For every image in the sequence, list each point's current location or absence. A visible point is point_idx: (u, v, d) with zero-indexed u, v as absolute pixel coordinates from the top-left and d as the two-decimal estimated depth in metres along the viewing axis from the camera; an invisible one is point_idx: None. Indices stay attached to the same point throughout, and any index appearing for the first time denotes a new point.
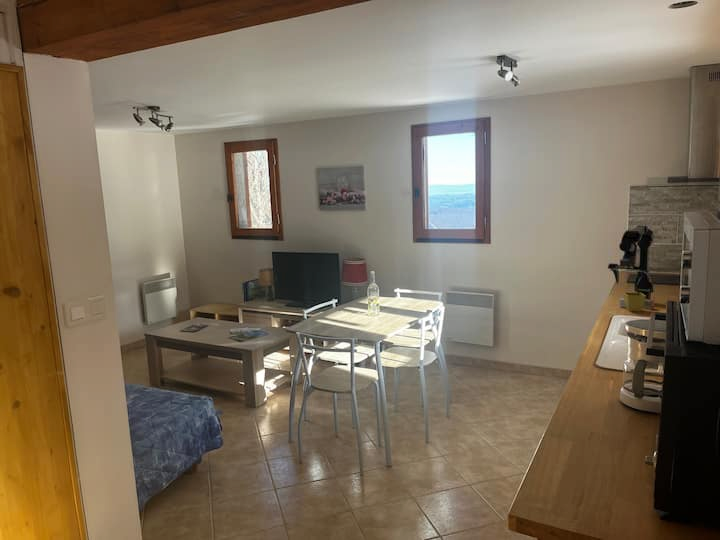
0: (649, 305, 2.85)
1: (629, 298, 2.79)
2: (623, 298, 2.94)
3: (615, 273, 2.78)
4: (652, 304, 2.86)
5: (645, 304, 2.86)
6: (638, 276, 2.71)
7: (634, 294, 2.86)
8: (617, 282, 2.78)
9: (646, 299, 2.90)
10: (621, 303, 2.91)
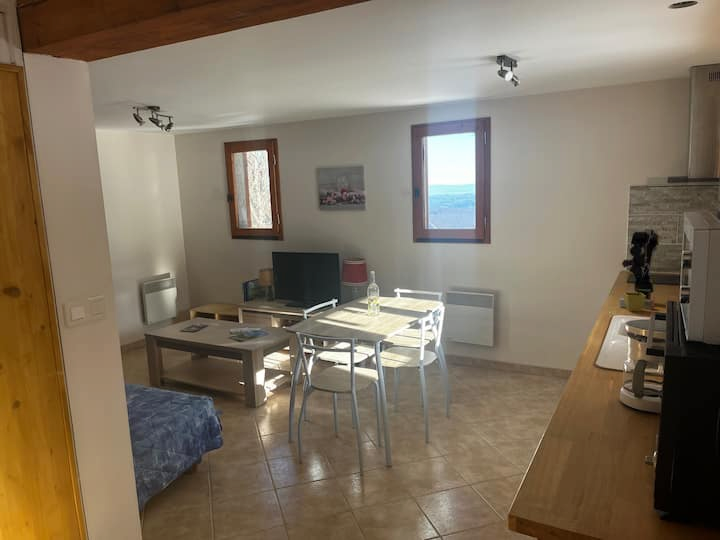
0: (649, 305, 2.85)
1: (629, 298, 2.79)
2: (623, 298, 2.94)
3: None
4: (652, 304, 2.86)
5: (645, 304, 2.86)
6: None
7: (634, 294, 2.86)
8: None
9: (646, 299, 2.90)
10: (621, 303, 2.91)
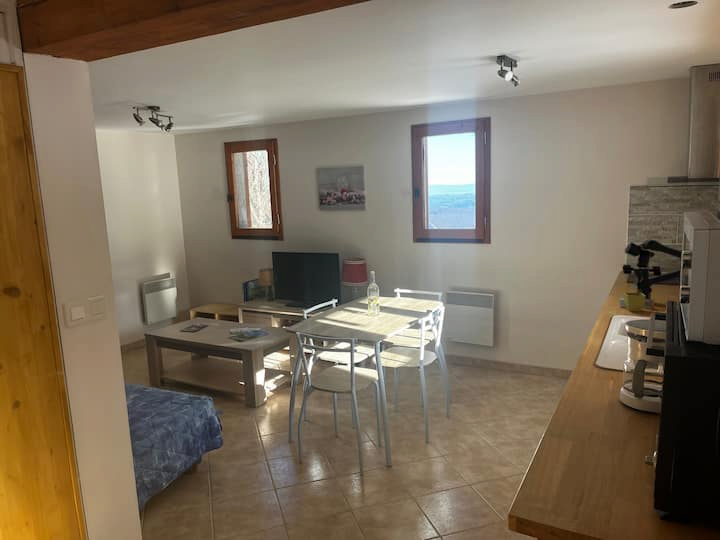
0: (649, 305, 2.85)
1: (629, 298, 2.79)
2: (623, 298, 2.94)
3: None
4: (652, 304, 2.86)
5: (645, 304, 2.86)
6: None
7: (634, 294, 2.86)
8: None
9: (646, 299, 2.90)
10: (621, 303, 2.91)
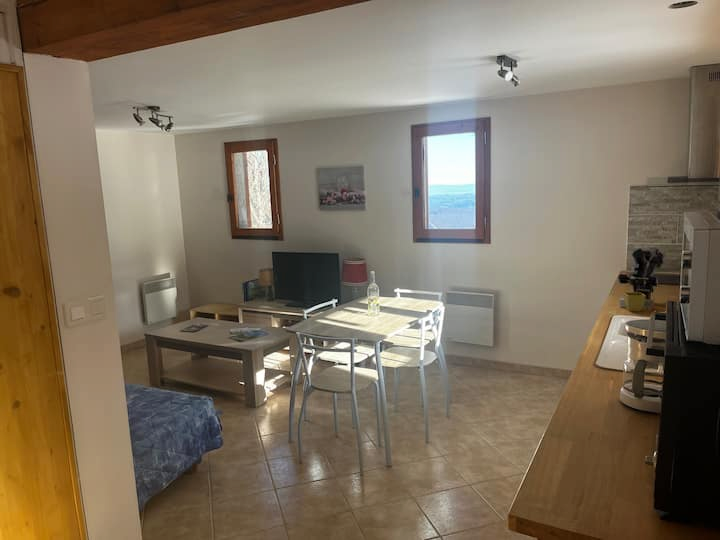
0: (649, 305, 2.85)
1: (629, 298, 2.79)
2: (623, 298, 2.94)
3: None
4: (652, 304, 2.86)
5: (645, 304, 2.86)
6: None
7: (634, 294, 2.86)
8: None
9: (646, 299, 2.90)
10: (621, 303, 2.91)
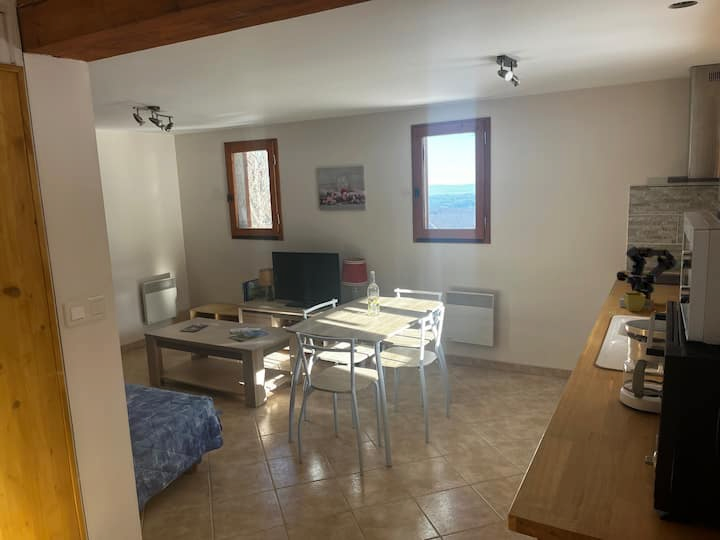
0: (649, 305, 2.85)
1: (629, 298, 2.79)
2: (623, 298, 2.94)
3: None
4: (652, 304, 2.86)
5: (645, 304, 2.86)
6: None
7: (634, 294, 2.86)
8: None
9: (646, 299, 2.90)
10: (621, 303, 2.91)
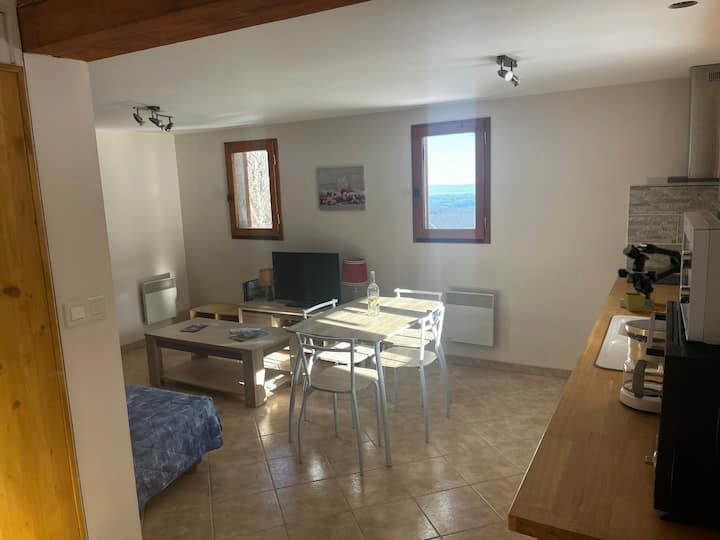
0: (649, 305, 2.85)
1: (629, 298, 2.79)
2: (623, 298, 2.94)
3: None
4: (652, 304, 2.86)
5: (645, 304, 2.86)
6: None
7: (634, 294, 2.86)
8: None
9: (646, 299, 2.90)
10: (621, 303, 2.91)
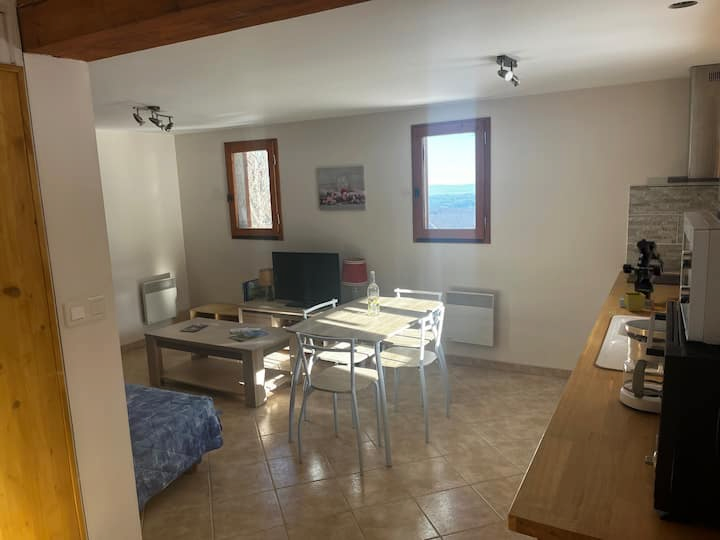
0: (649, 305, 2.85)
1: (629, 298, 2.79)
2: (623, 298, 2.94)
3: None
4: (652, 304, 2.86)
5: (645, 304, 2.86)
6: None
7: (634, 294, 2.86)
8: None
9: (646, 299, 2.90)
10: (621, 303, 2.91)
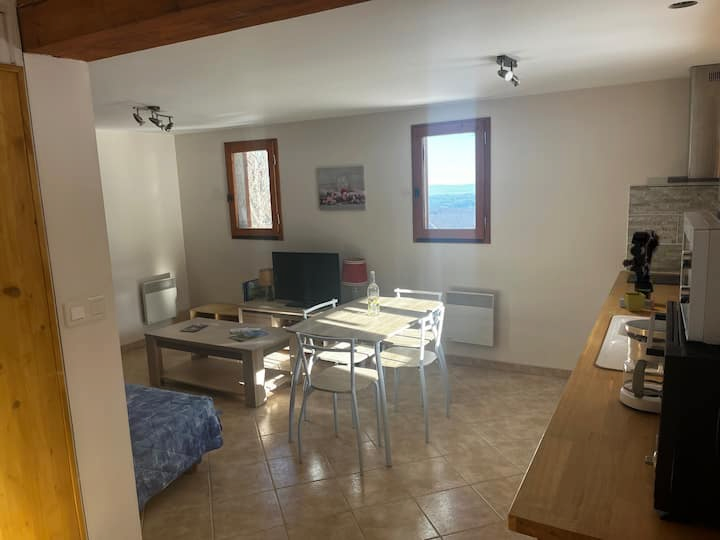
0: (649, 305, 2.85)
1: (629, 298, 2.79)
2: (623, 298, 2.94)
3: None
4: (652, 304, 2.86)
5: (645, 304, 2.86)
6: None
7: (634, 294, 2.86)
8: (638, 281, 2.92)
9: (646, 299, 2.90)
10: (621, 303, 2.91)
